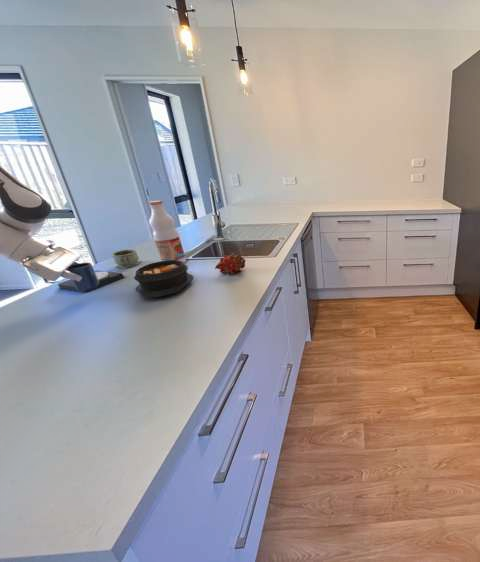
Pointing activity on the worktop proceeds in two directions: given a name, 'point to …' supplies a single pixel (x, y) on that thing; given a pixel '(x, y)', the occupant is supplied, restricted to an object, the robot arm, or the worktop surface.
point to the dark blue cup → (84, 276)
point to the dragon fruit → (231, 264)
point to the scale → (102, 276)
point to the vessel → (126, 258)
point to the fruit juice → (165, 233)
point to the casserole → (162, 278)
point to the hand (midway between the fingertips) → (85, 275)
